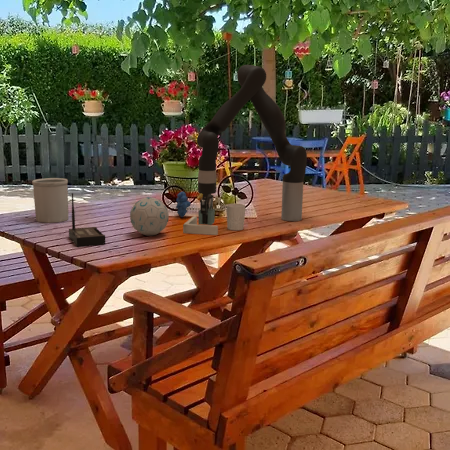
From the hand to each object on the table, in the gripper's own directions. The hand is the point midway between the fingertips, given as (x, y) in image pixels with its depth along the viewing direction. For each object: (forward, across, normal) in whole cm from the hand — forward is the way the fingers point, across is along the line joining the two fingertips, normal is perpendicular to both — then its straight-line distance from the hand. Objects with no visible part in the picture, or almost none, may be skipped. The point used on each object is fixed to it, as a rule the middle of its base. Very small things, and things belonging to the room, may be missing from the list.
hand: (206, 221), depth 254 cm
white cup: (+4, +6, -11) cm, 13 cm away
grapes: (+4, +23, +16) cm, 28 cm away
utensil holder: (+4, +2, +70) cm, 70 cm away
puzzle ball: (+4, -14, +20) cm, 25 cm away
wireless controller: (+4, -28, +41) cm, 50 cm away
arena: (+4, +1, +1) cm, 4 cm away
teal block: (+1, 0, 0) cm, 1 cm away
